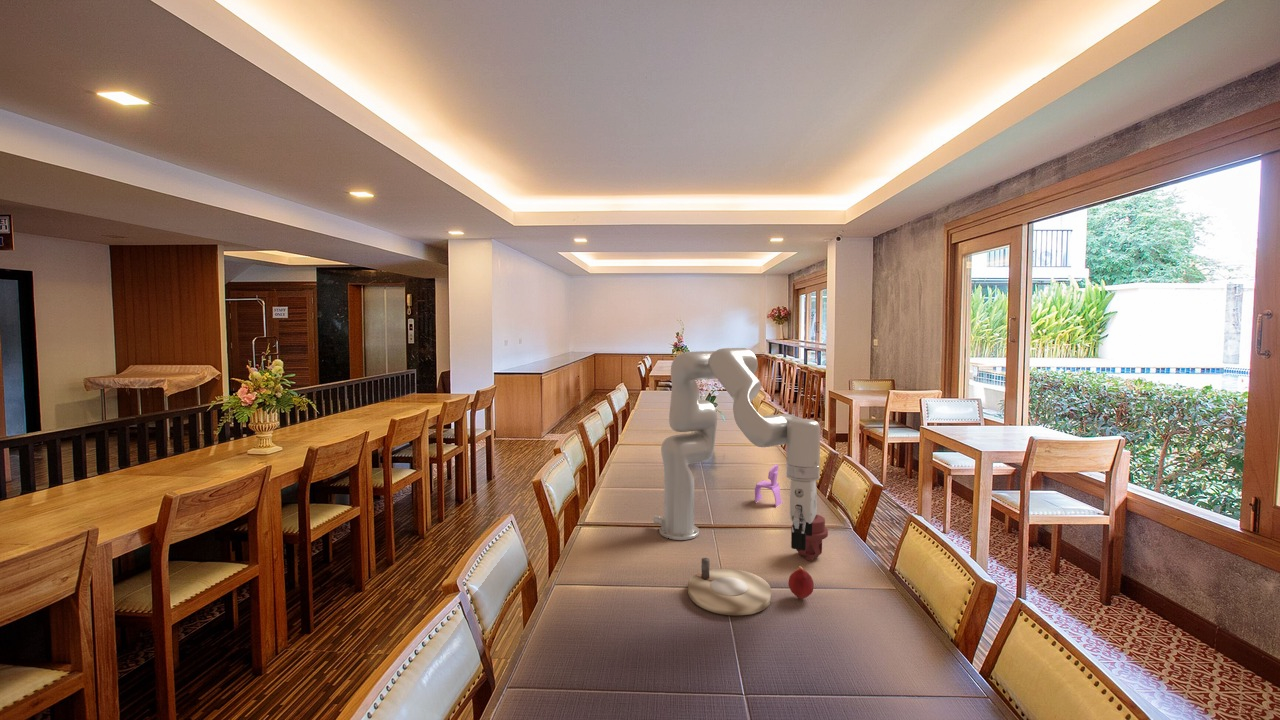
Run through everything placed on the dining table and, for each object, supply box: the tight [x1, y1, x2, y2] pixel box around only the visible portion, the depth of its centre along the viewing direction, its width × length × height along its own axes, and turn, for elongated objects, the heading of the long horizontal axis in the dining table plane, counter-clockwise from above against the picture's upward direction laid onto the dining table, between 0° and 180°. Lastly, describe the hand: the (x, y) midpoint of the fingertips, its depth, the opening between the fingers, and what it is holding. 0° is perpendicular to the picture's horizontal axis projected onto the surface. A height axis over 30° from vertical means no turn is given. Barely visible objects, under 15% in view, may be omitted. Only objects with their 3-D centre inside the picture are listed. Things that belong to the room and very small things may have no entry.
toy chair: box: [754, 464, 783, 508], centre depth 199 cm, size 8×9×15 cm
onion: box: [788, 565, 815, 600], centre depth 128 cm, size 6×6×8 cm
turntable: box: [687, 557, 772, 616], centre depth 130 cm, size 20×20×6 cm
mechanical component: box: [790, 513, 829, 562], centre depth 152 cm, size 12×10×10 cm
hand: (802, 541), depth 127 cm, fingers open, 9 cm apart
